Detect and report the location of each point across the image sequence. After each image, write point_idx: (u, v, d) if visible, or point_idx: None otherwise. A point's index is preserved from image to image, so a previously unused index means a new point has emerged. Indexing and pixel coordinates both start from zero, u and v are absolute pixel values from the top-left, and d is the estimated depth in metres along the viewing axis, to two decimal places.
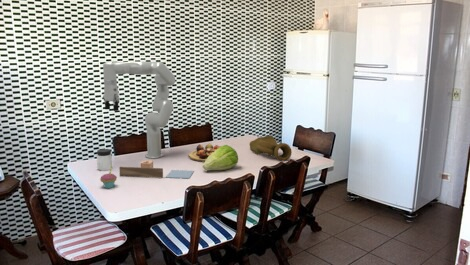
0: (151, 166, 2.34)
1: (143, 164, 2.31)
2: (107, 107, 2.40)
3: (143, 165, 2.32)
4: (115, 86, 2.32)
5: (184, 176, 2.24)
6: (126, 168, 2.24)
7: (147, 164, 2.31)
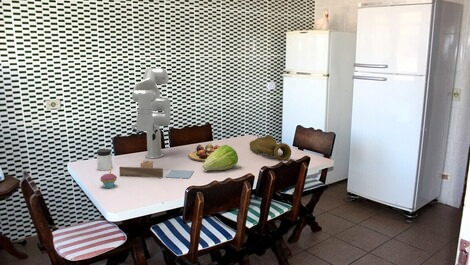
0: (151, 166, 2.34)
1: (143, 164, 2.31)
2: None
3: (143, 165, 2.32)
4: None
5: (184, 176, 2.24)
6: (126, 168, 2.24)
7: (147, 164, 2.31)
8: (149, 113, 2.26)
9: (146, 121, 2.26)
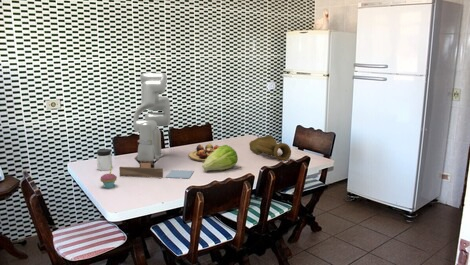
0: None
1: (143, 164, 2.31)
2: None
3: (143, 165, 2.32)
4: None
5: (184, 176, 2.24)
6: (126, 168, 2.24)
7: (147, 164, 2.31)
8: (150, 143, 2.30)
9: (147, 151, 2.30)
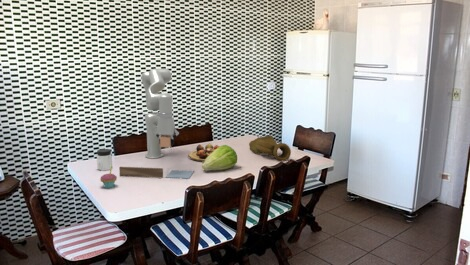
0: None
1: (163, 138, 2.24)
2: None
3: (163, 139, 2.24)
4: None
5: (184, 176, 2.24)
6: (126, 168, 2.24)
7: (167, 138, 2.24)
8: (170, 117, 2.22)
9: (167, 125, 2.22)
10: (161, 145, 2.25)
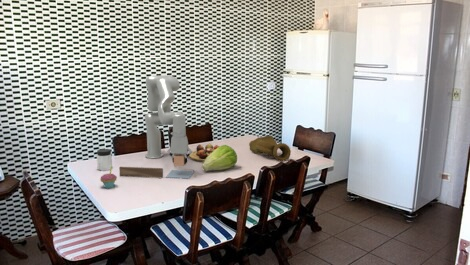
0: None
1: (176, 157, 2.24)
2: None
3: (176, 158, 2.24)
4: None
5: (184, 176, 2.24)
6: (126, 168, 2.24)
7: (180, 157, 2.23)
8: (184, 136, 2.22)
9: (181, 144, 2.22)
10: (175, 164, 2.25)
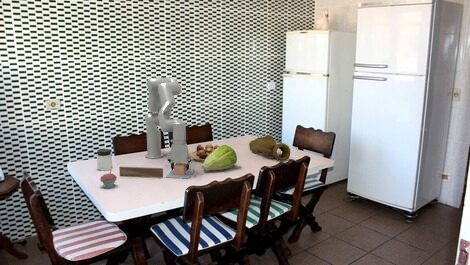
0: (184, 168, 2.27)
1: (176, 166, 2.25)
2: None
3: (176, 168, 2.25)
4: None
5: (184, 176, 2.24)
6: (126, 168, 2.24)
7: (180, 166, 2.25)
8: (184, 143, 2.23)
9: (181, 151, 2.23)
10: (175, 173, 2.26)
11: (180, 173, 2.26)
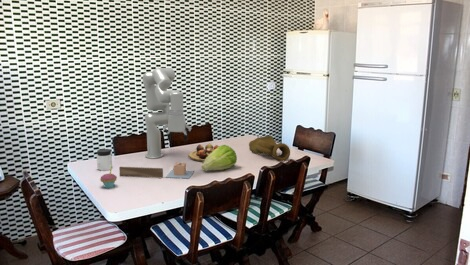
0: (184, 168, 2.27)
1: (176, 166, 2.25)
2: None
3: (176, 168, 2.25)
4: None
5: (184, 176, 2.24)
6: (126, 168, 2.24)
7: (180, 166, 2.25)
8: (181, 114, 2.21)
9: (178, 122, 2.22)
10: (175, 173, 2.26)
11: (180, 173, 2.26)
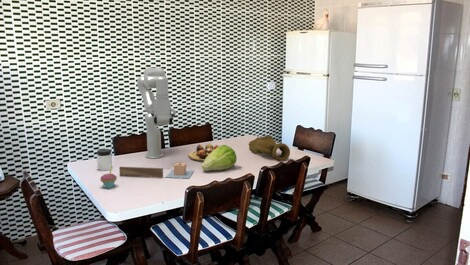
0: (184, 168, 2.27)
1: (176, 166, 2.25)
2: None
3: (176, 168, 2.25)
4: None
5: (184, 176, 2.24)
6: (126, 168, 2.24)
7: (180, 166, 2.25)
8: (166, 98, 2.34)
9: (164, 106, 2.34)
10: (175, 173, 2.26)
11: (180, 173, 2.26)
